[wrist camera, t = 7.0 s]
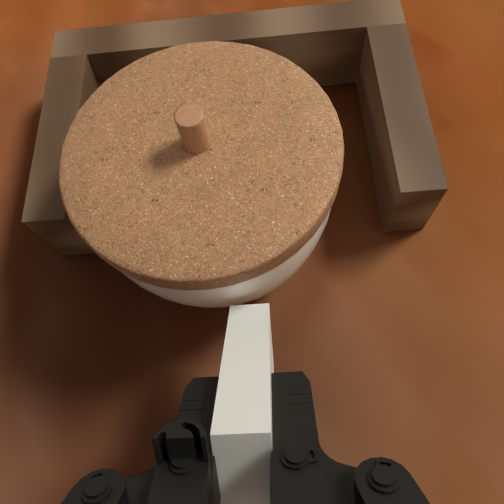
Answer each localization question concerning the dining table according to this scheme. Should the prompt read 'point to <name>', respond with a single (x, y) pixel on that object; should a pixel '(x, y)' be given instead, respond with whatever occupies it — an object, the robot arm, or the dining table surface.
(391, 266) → the dining table surface
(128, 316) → the dining table surface
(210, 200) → the lidded jar
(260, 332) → the robot arm
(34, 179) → the u-shaped bracket
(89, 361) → the dining table surface
